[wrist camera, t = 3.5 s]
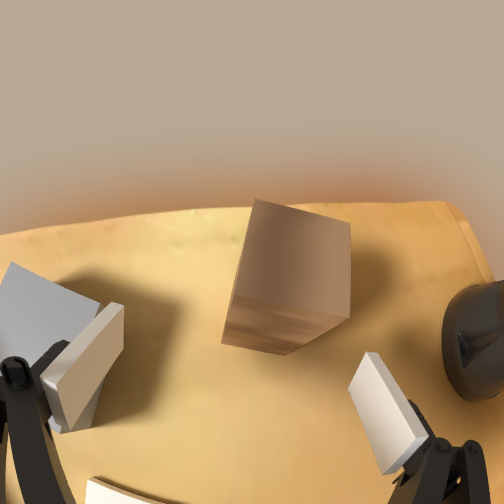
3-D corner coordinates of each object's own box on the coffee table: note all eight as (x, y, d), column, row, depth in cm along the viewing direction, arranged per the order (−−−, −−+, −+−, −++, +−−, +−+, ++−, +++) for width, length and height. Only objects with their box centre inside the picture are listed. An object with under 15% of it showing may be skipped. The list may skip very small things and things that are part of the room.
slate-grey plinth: (123, 325, 22) (100, 303, 17) (92, 427, 17) (59, 434, 12) (42, 288, 22) (11, 261, 17) (11, 377, 17) (-27, 367, 12)
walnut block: (292, 297, 26) (350, 223, 15) (284, 355, 23) (349, 317, 12) (233, 284, 25) (254, 198, 15) (220, 343, 23) (233, 294, 12)
